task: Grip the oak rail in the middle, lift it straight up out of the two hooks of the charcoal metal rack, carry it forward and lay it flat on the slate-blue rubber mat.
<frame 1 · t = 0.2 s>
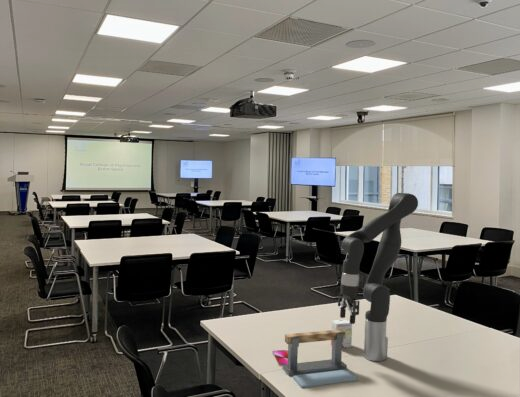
hand: (347, 320, 190), 18 cm above the table, tool pointing down, fingers open, 8 cm apart
rail: (315, 340, 182), point 12 cm above the table, touching rack
ink box: (341, 346, 209), on the table
rack: (314, 368, 183), on the table
mat: (325, 379, 173), on the table
smartphone: (283, 359, 193), on the table
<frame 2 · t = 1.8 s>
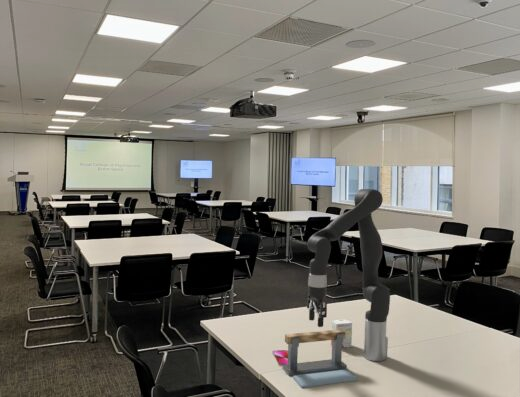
hand: (315, 323, 182), 19 cm above the table, tool pointing down, fingers open, 8 cm apart
nothing on the table moved.
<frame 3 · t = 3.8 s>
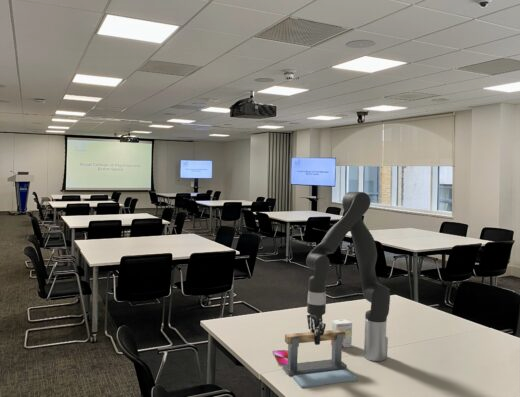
hand: (315, 342, 182), 11 cm above the table, tool pointing down, fingers closed on rail, 3 cm apart
rail: (315, 340, 182), point 12 cm above the table, touching gripper, rack
everything else where it was.
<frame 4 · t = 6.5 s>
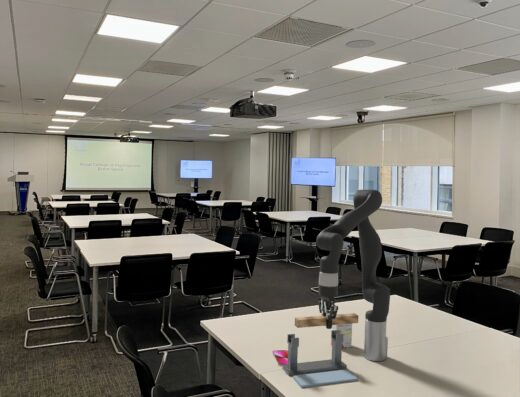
hand: (326, 326, 172), 21 cm above the table, tool pointing down, fingers closed on rail, 3 cm apart
rail: (326, 324, 172), point 22 cm above the table, touching gripper
everything else where it was.
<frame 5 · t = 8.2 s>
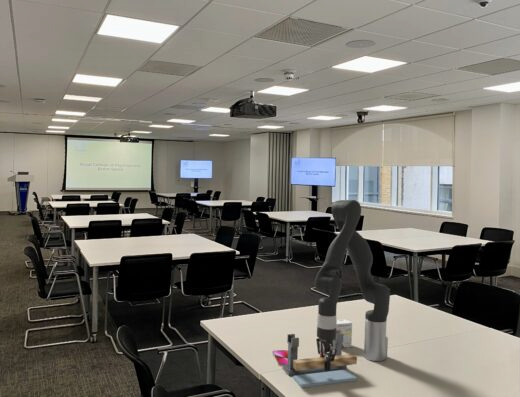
hand: (325, 368, 173), 4 cm above the table, tool pointing down, fingers closed on rail, 3 cm apart
rail: (325, 365, 173), point 5 cm above the table, touching gripper
everything else where it was.
when the fingers open (1 cm above the table, at t = 9.4 s): rail drops 2 cm, resting on mat.
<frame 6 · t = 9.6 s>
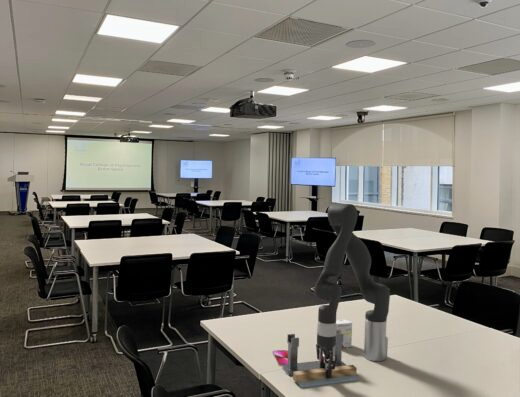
hand: (325, 375, 173), 2 cm above the table, tool pointing down, fingers open, 4 cm apart
rail: (325, 377, 173), point 1 cm above the table, touching mat
everything else where it was.
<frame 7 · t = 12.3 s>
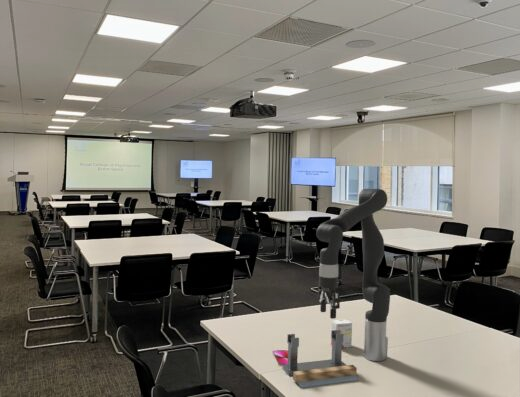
hand: (327, 315, 175), 25 cm above the table, tool pointing down, fingers open, 8 cm apart
nothing on the table moved.
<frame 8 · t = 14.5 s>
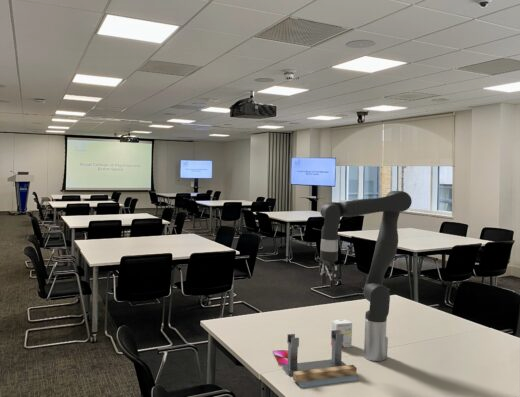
hand: (327, 286, 192), 32 cm above the table, tool pointing down, fingers open, 8 cm apart
nothing on the table moved.
at the end: rail inside the target area (0.0 cm from its centre), point 0.8 cm above the table; rail touching mat; the gripper is holding nothing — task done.
